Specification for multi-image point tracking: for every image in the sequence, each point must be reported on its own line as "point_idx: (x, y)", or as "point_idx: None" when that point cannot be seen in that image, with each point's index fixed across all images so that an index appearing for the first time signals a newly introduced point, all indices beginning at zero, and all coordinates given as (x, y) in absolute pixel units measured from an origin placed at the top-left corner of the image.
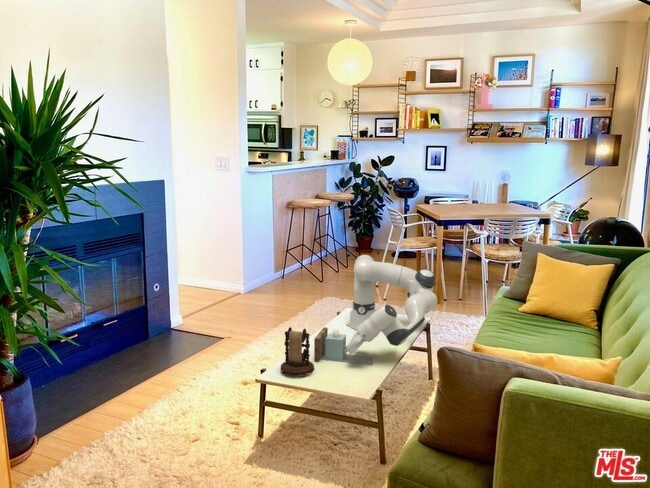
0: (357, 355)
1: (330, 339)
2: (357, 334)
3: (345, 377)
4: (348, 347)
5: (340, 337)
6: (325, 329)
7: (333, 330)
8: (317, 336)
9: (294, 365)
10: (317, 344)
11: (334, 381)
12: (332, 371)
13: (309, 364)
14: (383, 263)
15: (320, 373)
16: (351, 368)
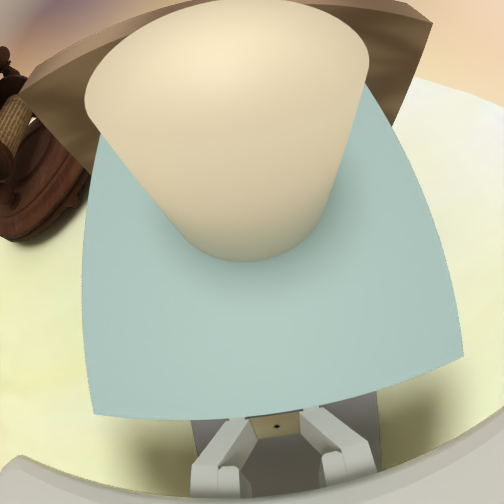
0: (369, 434)
1: (102, 162)
2: None
3: (41, 423)
4: (1, 482)
5: (232, 314)
6: (369, 6)
7: (189, 13)
8: (89, 40)
9: (17, 156)
10: (51, 122)
11: (3, 374)
12: (65, 340)
13: (18, 206)
14: None
15: (37, 282)
16: (145, 450)
